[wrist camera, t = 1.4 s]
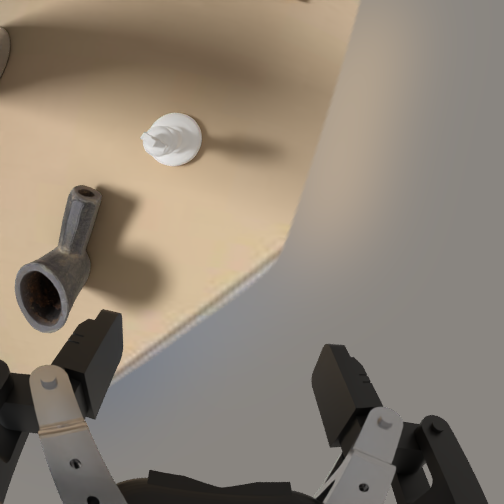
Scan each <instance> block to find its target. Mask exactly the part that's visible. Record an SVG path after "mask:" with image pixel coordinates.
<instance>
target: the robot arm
mask: <svg viewBox="0 0 504 504" xmlns="http://www.w3.org/2000/svg"><path fill="white" fill-rule="evenodd" d="M9 51H10V38H9V34H8V33H7V31H6V30H5V29H4V28H1V27H0V77H1V75H2V73H3V71H4V68H5V66H6V63H7V60H8V57H9ZM122 352H123V330H122V315H121V313H117V312H113V311H109V310H104V309H103V310H101V312H100V313H99V315H98V316H97V317H96V319H95V320H92V319H87V320H86V321H84V322H82V323H81V324H79V325H78V327H77V328H76V329H75V331H74V332H73V335H71V336H70V338H69V339H68V341H67V342H66V343H65V345H64V346H63V348H62V349H61V351H60V352H59V353H58V355H57V356H56V358H55V359H54V361H53V362H52V364H51V365H44V366H40V367H38V368H36V369H35V370H34V371H33V372H32V373H31V375H27V374H17V373H10V370H9V368H8V366H7V364H6V363H5V362H4V361H2V360H0V504H3V503H4V499H5V496H6V493H7V490H8V487H9V484H10V481H11V478H12V475H13V472H14V470H15V467H16V465H17V462H18V459H19V456H20V454H21V452H22V449H23V446H24V444H25V442H26V439H27V437H28V435H29V432H30V433H38V434H39V438H40V442H41V445H42V448H43V452H44V455H45V458H46V461H47V464H48V467H49V470H50V472H51V475H52V478H53V480H54V483H55V486H56V488H57V490H58V493H59V495H60V498H61V500H62V502H63V504H383V503H384V501H385V498H386V496H387V493H388V491H389V488H390V485H392V488H393V492H394V495H395V498H396V501H397V504H488V502H487V500H486V498H485V496H484V493H483V491H482V489H481V487H480V485H479V483H478V480H477V478H476V476H475V474H474V472H473V470H472V468H471V466H470V464H469V462H468V460H467V458H466V456H465V454H464V452H463V451H462V449H461V447H460V445H459V443H458V441H457V439H456V437H455V435H454V433H453V432H452V430H451V428H450V426H449V425H448V423H447V422H446V421H445V420H443V419H442V418H440V417H438V416H434V415H430V416H426V417H425V418H424V419H423V420H422V421H421V423H420V424H414V423H408V422H403V421H402V419H401V417H400V416H399V414H398V413H396V412H395V411H394V410H392V409H390V408H386V407H383V405H382V403H381V401H380V399H379V397H378V395H377V393H376V391H375V389H374V387H373V385H372V383H370V380H369V377H368V376H367V374H366V372H365V370H364V368H363V366H362V365H361V364H360V363H359V362H358V361H357V360H356V359H355V358H354V357H350V355H349V353H348V351H347V349H346V347H345V346H344V345H333V344H325V345H324V347H323V349H322V351H321V354H320V356H319V359H318V361H317V364H316V366H315V369H314V371H313V374H312V388H313V391H314V394H315V397H316V401H317V404H318V408H319V411H320V415H321V418H322V421H323V425H324V428H325V432H326V435H327V439H328V442H329V446H330V447H341V449H342V452H341V454H340V455H339V457H338V458H337V460H336V462H335V464H334V465H333V467H332V469H331V470H330V472H329V474H328V476H327V477H326V479H325V480H324V482H323V484H322V485H321V487H320V488H319V490H318V491H317V492H316V494H315V495H314V496H313V497H311V496H308V495H306V494H303V493H300V492H296V491H292V490H291V485H290V482H256V483H250V484H245V485H239V486H232V487H224V488H221V487H216V486H213V485H210V484H206V483H203V482H200V481H197V480H194V479H191V478H188V477H186V476H181V475H174V474H169V473H163V472H158V471H153V470H149V477H148V478H137V479H131V480H126V481H123V482H120V483H117V484H116V483H115V481H114V479H113V478H112V476H111V474H110V472H109V470H108V468H107V466H106V464H105V462H104V461H103V459H102V457H101V454H100V452H99V451H98V448H97V446H96V444H95V442H94V439H93V437H92V435H91V433H90V430H89V428H88V426H87V423H86V421H84V420H85V417H89V418H92V419H96V416H97V414H98V411H99V409H100V406H101V404H102V402H103V399H104V397H105V394H106V392H107V390H108V387H109V385H110V383H111V380H112V378H113V376H114V373H115V371H116V369H117V366H118V364H119V362H120V360H121V357H122ZM425 463H427V466H428V468H429V471H430V473H431V475H432V478H433V483H432V487H431V488H430V486H429V483H428V481H427V478H426V475H425V473H424V470H423V468H422V466H423V465H424V464H425Z"/></svg>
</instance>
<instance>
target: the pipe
mask: <svg viewBox="0 0 504 504" xmlns="http://www.w3.org/2000/svg"><path fill="white" fill-rule="evenodd" d="M101 199H102V195H101V194H100V192H99V191H97V190H95V189H93V188H90V187H87V186H84V185H80V186H76V187H74V188H73V189H72V190H71V192H70V194H69V197H68V200H67V204H66V208H65V212H64V216H63V221H62V227H61V233H60V238H59V244H58V247H56V248H55V249H54V250H52V251H51V252H49V253H47V254H46V255H44V256H43V257H41V258H39V259H38V260H35V261H33V262H31V263H28V264H26V265H24V266H22V267H21V269H20V270H19V271H18V273H17V276H16V280H15V294H16V299H17V302H18V305H19V307H20V309H21V311H22V313H23V315H24V316H25V318H26V320H27V321H28V322H29V323H30V325H31V326H32V327H33V328H34V329H36V330H38V331H40V332H44V333H52V332H56V331H57V330H59V329H60V328H61V327H63V326H64V324H65V323H66V321H67V318H68V315H69V312H70V310H71V308H72V306H73V304H74V301H75V299H76V297H77V296H78V294H79V292H80V291H81V289H82V287H83V286H84V284H85V283H86V281H87V279H88V276H89V273H90V268H91V262H90V259H89V257H88V254H87V252H86V247H87V244H88V241H89V238H90V235H91V232H92V229H93V226H94V222H95V219H96V216H97V212H98V209H99V206H100V203H101Z"/></svg>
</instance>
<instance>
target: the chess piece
mask: <svg viewBox="0 0 504 504" xmlns="http://www.w3.org/2000/svg"><path fill="white" fill-rule="evenodd" d="M140 139H142V140H143V146H144V149H145V150H146V152H147V153H148V154H150V155H152V156H153V157H154V159H156V160H157V161H158V162H160V163H162V164H164V165H167V166H180V165H183V164H185V163H187V162H189V161H190V160H192V159H193V158H194V157H195V156H196V154H197V153H198V151H199V149H200V146H201V142H202V134H201V130H200V127H199V126H198V124H197V122H196V121H195V120H194V119H193V118H191V117H190V116H188V115H186V114H183V113H169V114H166V115H164V116H162V117H160V118H159V119H157V120H156V121H155V122H154V123H153V125H152V126H151V128H150V129H149V130H148V131H147V132H144V133H143V134H142V136H141V138H140Z"/></svg>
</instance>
